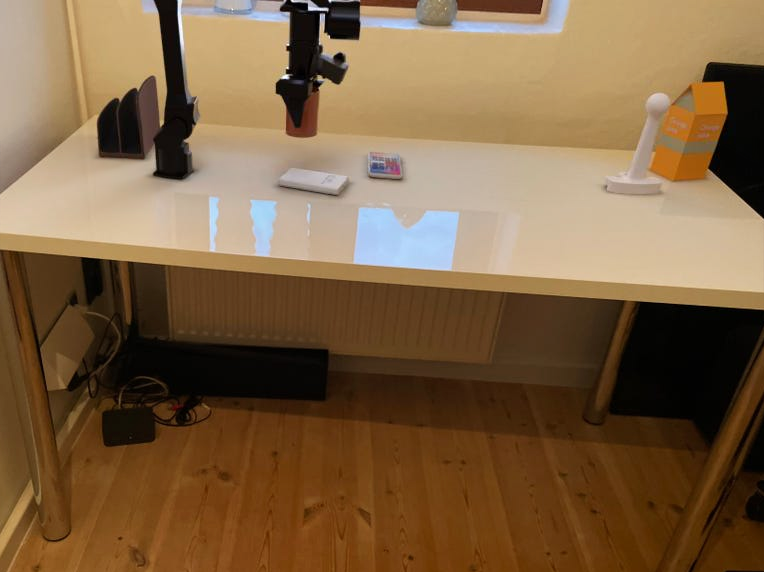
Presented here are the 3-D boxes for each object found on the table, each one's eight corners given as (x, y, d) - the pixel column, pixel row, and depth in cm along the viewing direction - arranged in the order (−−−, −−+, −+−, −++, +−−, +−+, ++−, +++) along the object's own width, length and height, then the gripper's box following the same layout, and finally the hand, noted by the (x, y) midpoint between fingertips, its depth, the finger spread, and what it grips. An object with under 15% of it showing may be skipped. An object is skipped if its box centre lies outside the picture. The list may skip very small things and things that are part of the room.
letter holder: (161, 133, 175) (157, 70, 167) (144, 159, 158) (140, 92, 150) (119, 130, 175) (113, 68, 167) (98, 157, 158) (91, 89, 150)
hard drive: (292, 174, 155) (348, 183, 152) (278, 186, 148) (337, 196, 145) (292, 166, 154) (349, 175, 151) (278, 178, 148) (337, 188, 144)
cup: (281, 135, 145) (282, 91, 140) (289, 127, 150) (290, 83, 146) (313, 139, 144) (315, 94, 139) (320, 130, 149) (322, 86, 145)
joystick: (610, 193, 154) (639, 95, 143) (597, 181, 160) (623, 85, 149) (661, 194, 155) (693, 97, 144) (646, 182, 161) (675, 87, 150)
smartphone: (400, 153, 167) (403, 176, 154) (399, 157, 167) (402, 180, 155) (367, 151, 167) (367, 173, 154) (367, 155, 167) (367, 177, 155)
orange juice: (649, 169, 169) (677, 78, 158) (680, 167, 171) (710, 77, 160) (673, 181, 162) (704, 87, 151) (705, 178, 165) (738, 86, 154)
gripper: (336, 51, 128) (331, 140, 137) (355, 33, 144) (350, 114, 152) (275, 46, 130) (274, 134, 139) (300, 29, 146) (297, 109, 154)
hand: (301, 122), depth 146 cm, fingers closed on cup, 6 cm apart
